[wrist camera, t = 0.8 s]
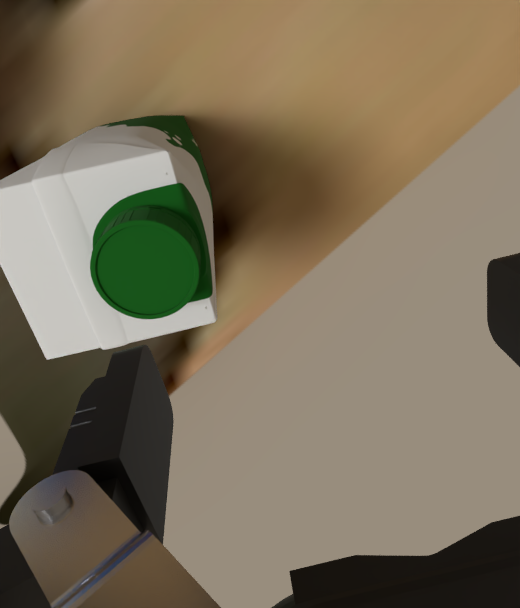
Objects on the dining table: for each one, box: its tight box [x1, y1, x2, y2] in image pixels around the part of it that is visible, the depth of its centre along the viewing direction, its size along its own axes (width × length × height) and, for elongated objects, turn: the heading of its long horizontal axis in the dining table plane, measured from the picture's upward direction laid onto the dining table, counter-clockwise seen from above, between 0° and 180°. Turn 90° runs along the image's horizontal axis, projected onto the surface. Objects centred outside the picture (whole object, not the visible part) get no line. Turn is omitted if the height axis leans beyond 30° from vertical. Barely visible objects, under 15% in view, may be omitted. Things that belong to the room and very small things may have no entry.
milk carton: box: [0, 116, 217, 359], centre depth 27 cm, size 9×9×20 cm
